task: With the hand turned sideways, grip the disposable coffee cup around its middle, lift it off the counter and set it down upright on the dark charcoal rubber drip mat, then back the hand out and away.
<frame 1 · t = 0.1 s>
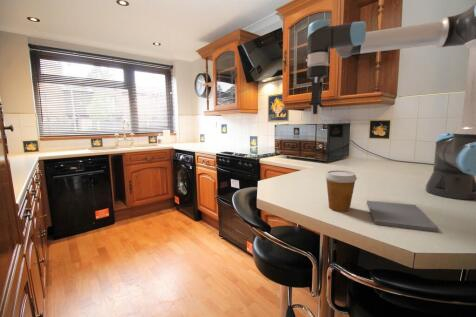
hand: (316, 123, 93), 28 cm above the countertop, tool pointing down, fingers open, 13 cm apart
drip mat: (396, 215, 71), on the countertop
disposable coffee cup: (339, 208, 78), on the countertop
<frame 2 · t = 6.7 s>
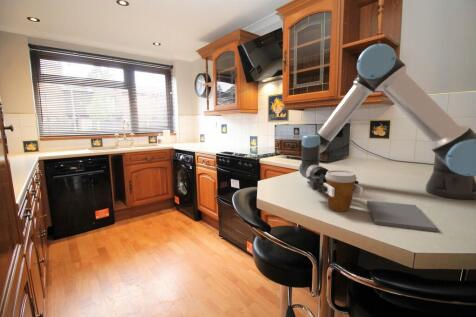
hand: (347, 192, 73), 7 cm above the countertop, tool horizontal, fingers closed on disposable coffee cup, 8 cm apart
disposable coffee cup: (339, 208, 78), on the countertop, touching gripper
when the fingers open (9 cm above the countertop, at t = 11.9 s): disposable coffee cup drops 1 cm, point 1 cm above the countertop.
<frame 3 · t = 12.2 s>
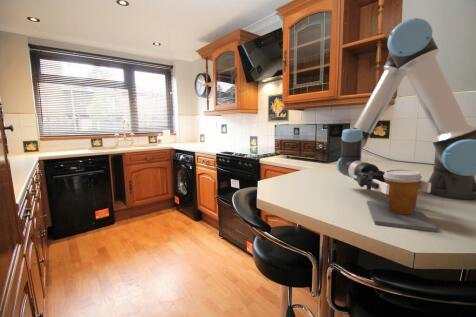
hand: (408, 188, 66), 9 cm above the countertop, tool horizontal, fingers open, 11 cm apart
disposable coffee cup: (401, 211, 72), point 1 cm above the countertop, touching gripper
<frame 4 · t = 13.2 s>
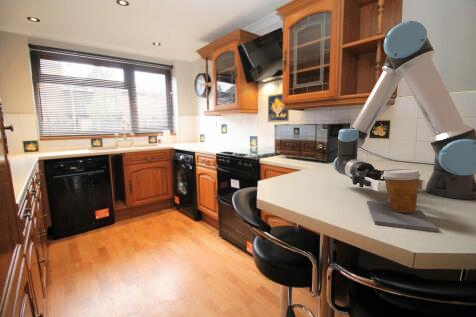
hand: (401, 185, 69), 10 cm above the countertop, tool horizontal, fingers open, 13 cm apart
disposable coffee cup: (402, 210, 72), point 1 cm above the countertop, touching drip mat, gripper
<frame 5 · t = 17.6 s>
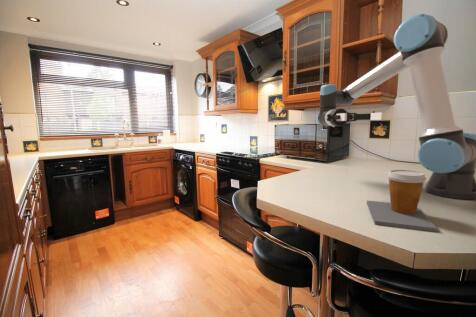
hand: (364, 116, 85), 30 cm above the countertop, tool horizontal, fingers open, 13 cm apart
disposable coffee cup: (402, 211, 73), point 1 cm above the countertop, touching drip mat
at the end: disposable coffee cup inside the target area on the drip mat (3.0 cm from its centre), point 0.8 cm above the drip mat's base; disposable coffee cup tilted 0°; the gripper is holding nothing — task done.
